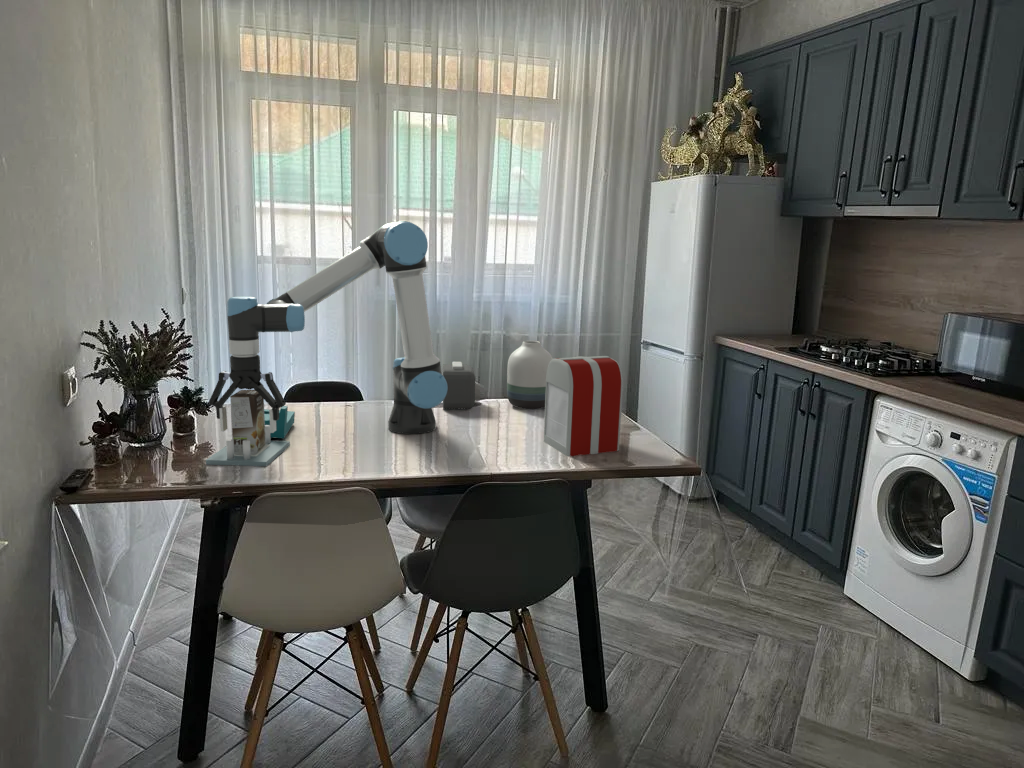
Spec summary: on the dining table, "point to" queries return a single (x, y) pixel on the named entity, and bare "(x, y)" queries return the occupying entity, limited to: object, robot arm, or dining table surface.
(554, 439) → the red white rounded block
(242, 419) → the coffee box
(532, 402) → the vase
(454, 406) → the alarm clock
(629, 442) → the dining table surface
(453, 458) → the dining table surface
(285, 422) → the teal cradle block
